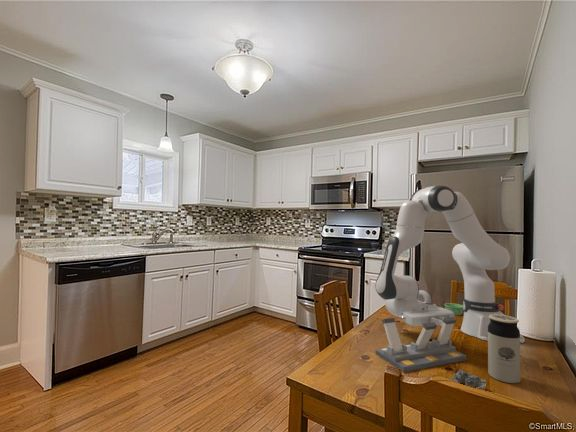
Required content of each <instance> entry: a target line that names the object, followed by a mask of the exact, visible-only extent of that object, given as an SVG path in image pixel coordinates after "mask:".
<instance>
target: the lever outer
mask: <svg viewBox="0 0 576 432" xmlns="http://www.w3.org/2000/svg"><path fill="white" fill-rule="evenodd" d="M381 322H382V324H383V327H384V330H385V333H386V337H387V341H388V346H390V347H392V348H394V352H400V351H403V348H402V344H403V343H402V342H401V338H400V335H399V331H398V329H397V325H396V320H395V318H394V317H389V318H383V319H381Z"/></svg>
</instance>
